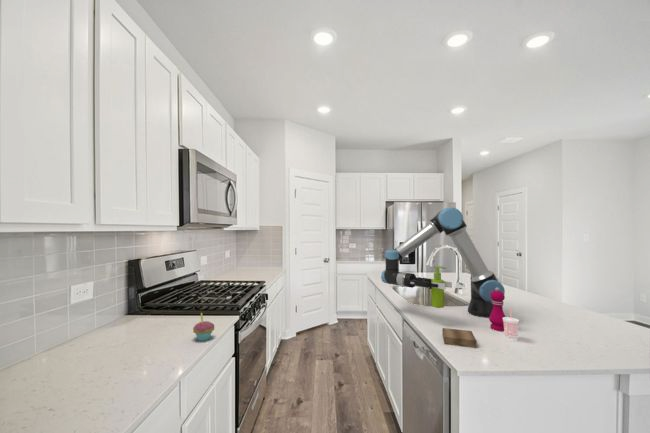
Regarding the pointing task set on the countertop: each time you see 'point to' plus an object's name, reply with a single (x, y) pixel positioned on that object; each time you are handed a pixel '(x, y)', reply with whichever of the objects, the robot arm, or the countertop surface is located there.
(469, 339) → the plinth
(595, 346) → the countertop surface
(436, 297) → the soap dispenser
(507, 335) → the beverage cup
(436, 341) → the countertop surface
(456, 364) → the countertop surface
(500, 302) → the pepper mill
